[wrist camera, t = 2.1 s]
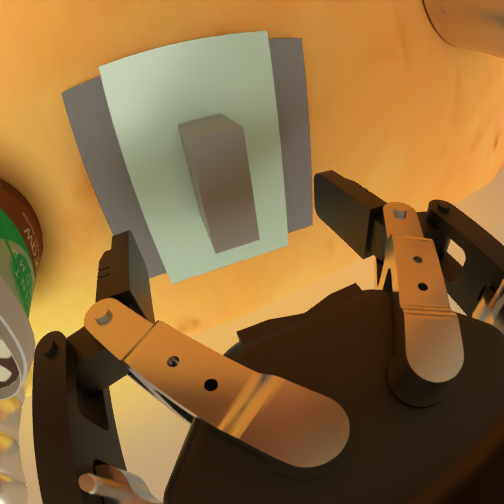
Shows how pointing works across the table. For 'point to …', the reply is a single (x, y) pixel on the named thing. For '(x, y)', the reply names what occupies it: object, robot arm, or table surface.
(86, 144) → the rubber mat
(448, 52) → the table surface
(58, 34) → the table surface
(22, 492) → the plastic bottle
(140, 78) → the lid
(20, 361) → the food container
